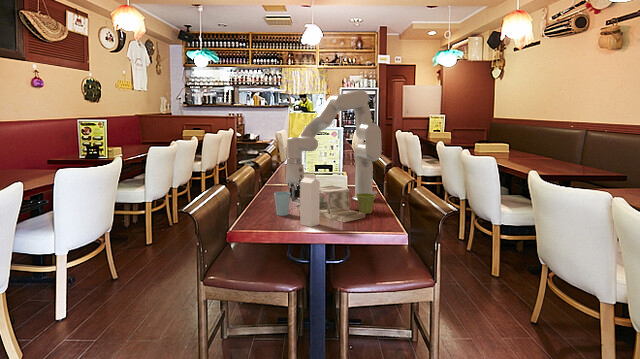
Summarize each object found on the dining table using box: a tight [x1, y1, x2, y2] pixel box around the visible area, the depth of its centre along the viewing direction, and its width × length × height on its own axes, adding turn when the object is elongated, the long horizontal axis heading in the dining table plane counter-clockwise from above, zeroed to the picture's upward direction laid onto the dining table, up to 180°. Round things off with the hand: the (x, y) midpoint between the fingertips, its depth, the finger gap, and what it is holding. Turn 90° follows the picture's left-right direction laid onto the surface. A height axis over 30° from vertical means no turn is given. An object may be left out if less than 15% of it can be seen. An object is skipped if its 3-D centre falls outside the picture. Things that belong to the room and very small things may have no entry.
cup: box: [273, 191, 291, 217], centre depth 219 cm, size 8×8×10 cm
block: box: [320, 195, 325, 202], centre depth 229 cm, size 5×5×5 cm
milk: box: [299, 173, 321, 228], centre depth 200 cm, size 6×6×22 cm
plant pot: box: [356, 193, 377, 215], centre depth 225 cm, size 9×9×9 cm
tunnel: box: [297, 185, 366, 223], centre depth 221 cm, size 32×14×12 cm, turn 43°
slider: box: [291, 184, 328, 208], centre depth 234 cm, size 22×9×8 cm, turn 43°
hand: (294, 196), depth 241 cm, fingers closed on slider, 3 cm apart
